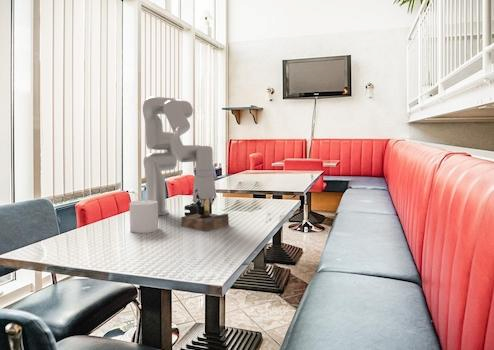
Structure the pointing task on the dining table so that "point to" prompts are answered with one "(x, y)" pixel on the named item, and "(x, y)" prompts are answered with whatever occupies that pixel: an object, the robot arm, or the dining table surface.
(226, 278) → the dining table surface
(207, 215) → the gold peg
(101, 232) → the dining table surface
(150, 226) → the cup
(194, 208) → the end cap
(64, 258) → the dining table surface
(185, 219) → the jig
